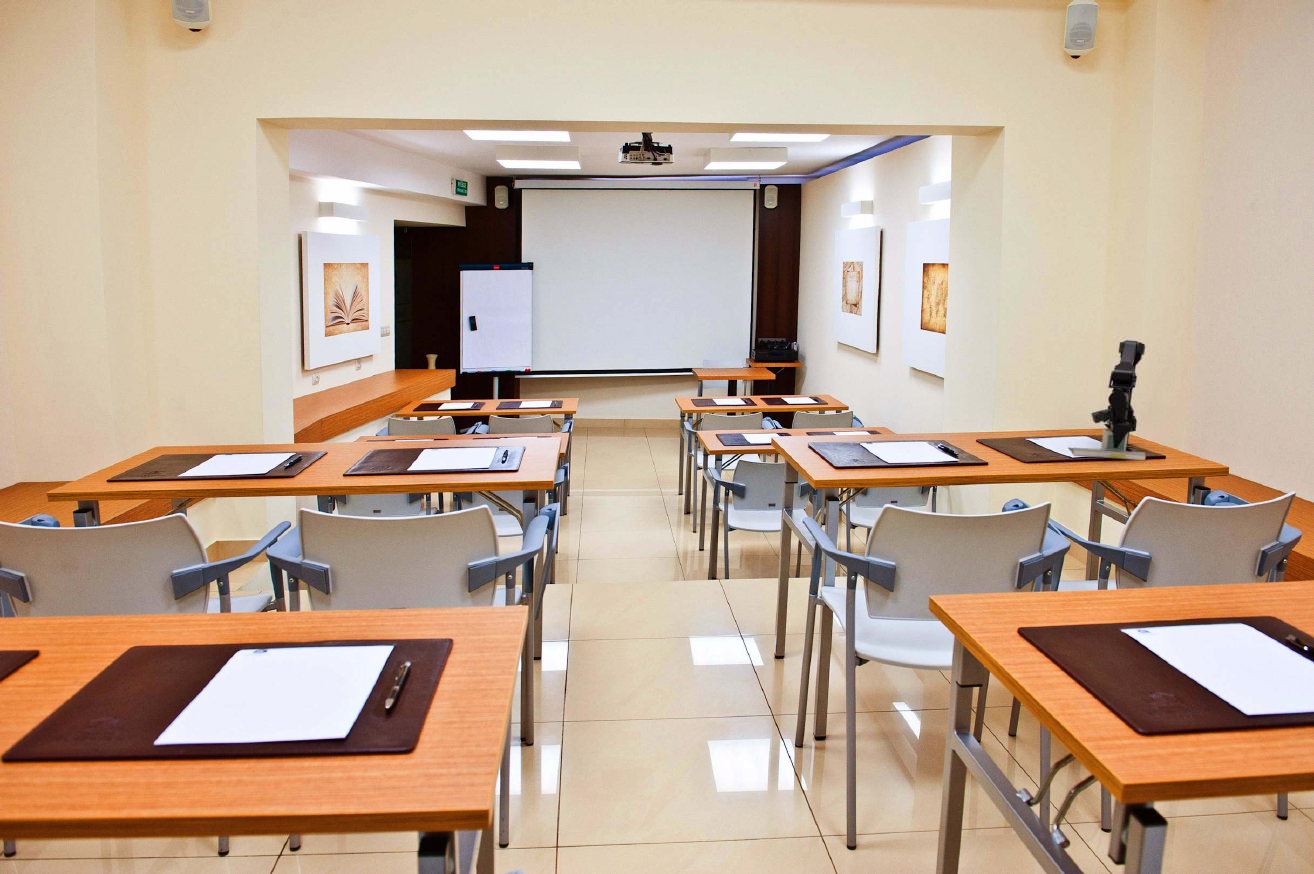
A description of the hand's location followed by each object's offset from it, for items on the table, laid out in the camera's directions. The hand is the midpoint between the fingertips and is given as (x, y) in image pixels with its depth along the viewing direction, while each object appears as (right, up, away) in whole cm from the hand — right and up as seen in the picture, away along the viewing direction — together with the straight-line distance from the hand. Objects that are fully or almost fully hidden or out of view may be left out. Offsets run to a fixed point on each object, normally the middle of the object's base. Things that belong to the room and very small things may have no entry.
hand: (1113, 446), depth 328 cm
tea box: (0, -2, +1) cm, 2 cm away
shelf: (-3, -4, +1) cm, 5 cm away
